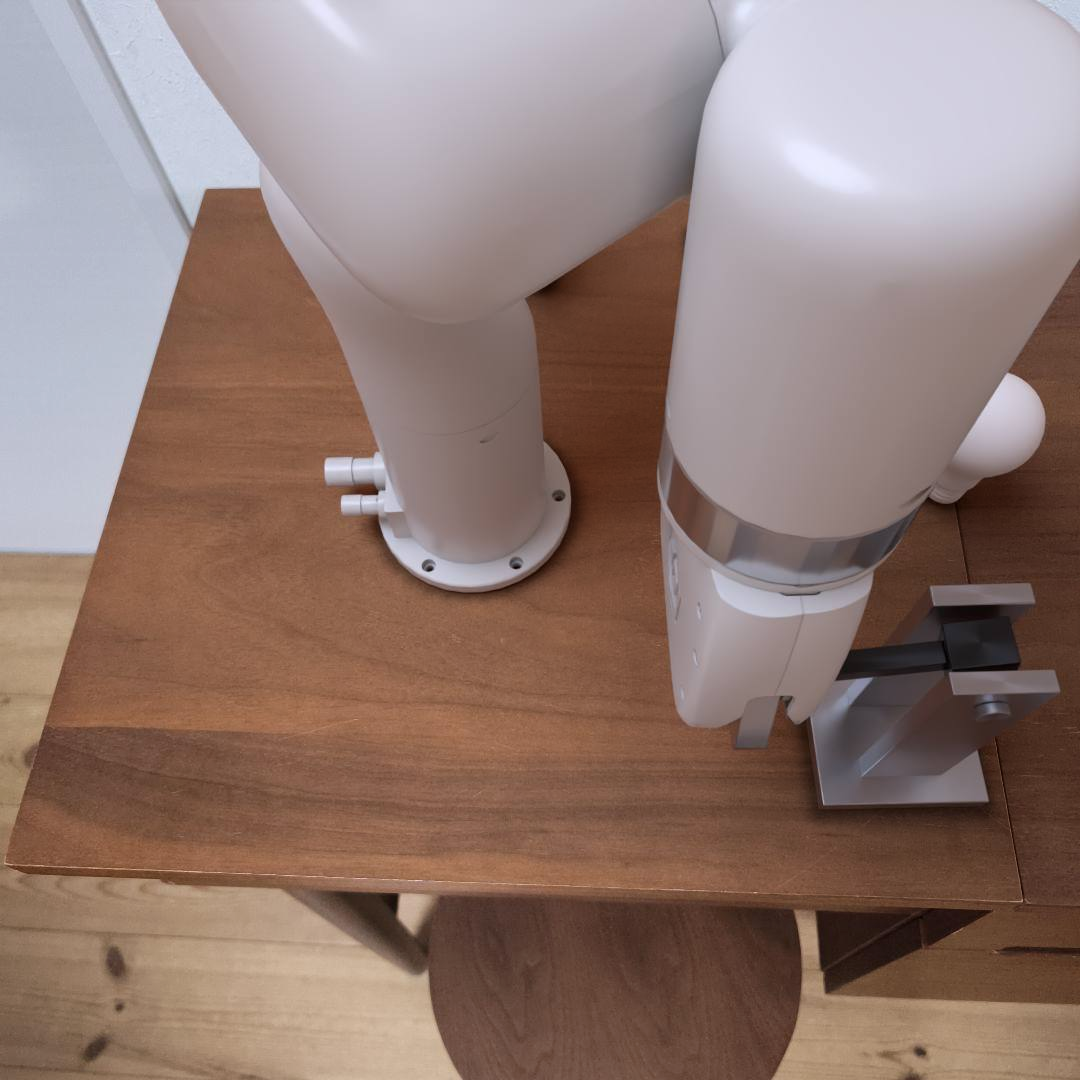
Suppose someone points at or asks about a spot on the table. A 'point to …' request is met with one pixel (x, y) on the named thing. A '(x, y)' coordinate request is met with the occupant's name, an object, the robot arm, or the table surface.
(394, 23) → the robot arm
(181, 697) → the table surface
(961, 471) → the lightbulb
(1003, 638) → the lever
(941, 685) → the switch bracket
